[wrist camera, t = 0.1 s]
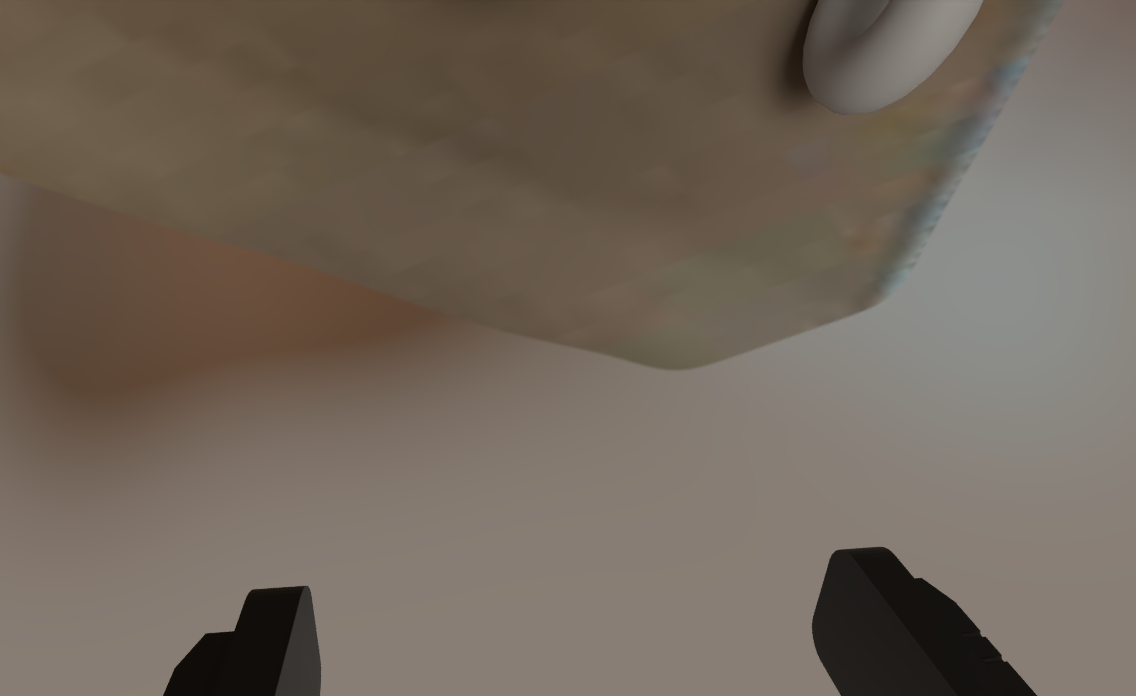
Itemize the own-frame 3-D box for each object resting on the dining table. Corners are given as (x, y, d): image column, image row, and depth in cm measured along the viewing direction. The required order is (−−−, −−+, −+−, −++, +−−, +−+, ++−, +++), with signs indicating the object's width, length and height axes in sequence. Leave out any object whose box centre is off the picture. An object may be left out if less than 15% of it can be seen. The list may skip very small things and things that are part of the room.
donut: (857, -114, 33) (1008, -166, 24) (911, -82, 34) (1076, -120, 25) (761, 89, 36) (862, 110, 27) (813, 113, 37) (926, 141, 28)
